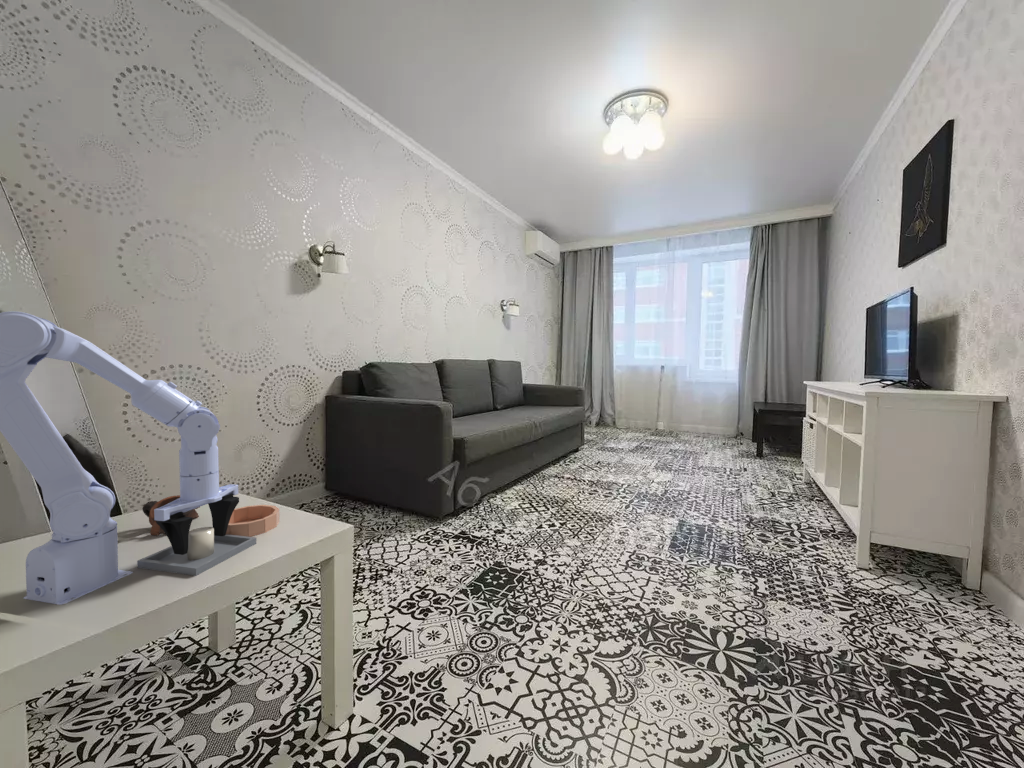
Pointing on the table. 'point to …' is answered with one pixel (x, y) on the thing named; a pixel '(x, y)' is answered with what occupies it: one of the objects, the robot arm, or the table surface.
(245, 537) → the parts tray
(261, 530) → the terracotta bowl
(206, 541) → the cream rounded cylinder
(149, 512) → the broken clay pot
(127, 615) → the table surface
